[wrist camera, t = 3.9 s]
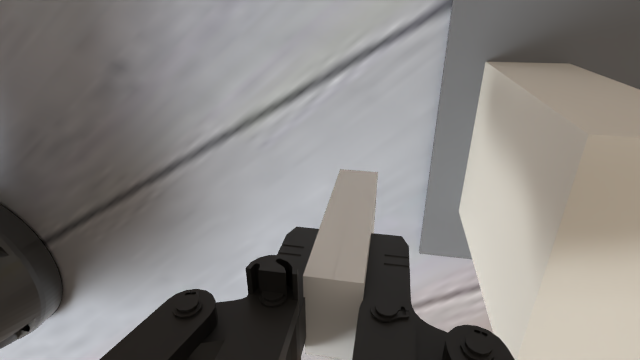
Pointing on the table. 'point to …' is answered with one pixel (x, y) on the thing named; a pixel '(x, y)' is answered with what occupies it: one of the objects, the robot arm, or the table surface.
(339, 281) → the robot arm
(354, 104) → the table surface
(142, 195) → the table surface
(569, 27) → the mat
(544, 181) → the tall block
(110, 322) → the table surface
